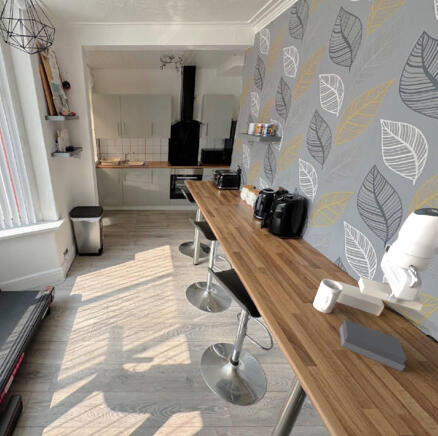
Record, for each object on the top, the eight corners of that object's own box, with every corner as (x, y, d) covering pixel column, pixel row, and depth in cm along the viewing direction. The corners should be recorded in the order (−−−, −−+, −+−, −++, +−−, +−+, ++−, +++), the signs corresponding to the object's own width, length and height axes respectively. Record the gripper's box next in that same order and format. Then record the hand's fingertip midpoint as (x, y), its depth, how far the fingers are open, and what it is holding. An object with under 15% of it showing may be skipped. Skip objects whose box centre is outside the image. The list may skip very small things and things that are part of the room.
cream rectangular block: (412, 298, 77) (416, 292, 76) (419, 310, 72) (423, 304, 71) (358, 282, 84) (360, 277, 83) (361, 292, 79) (364, 287, 78)
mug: (312, 299, 101) (321, 276, 96) (331, 305, 98) (341, 282, 93) (312, 314, 93) (322, 290, 88) (333, 322, 90) (344, 297, 85)
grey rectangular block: (393, 350, 80) (400, 339, 78) (401, 371, 73) (409, 361, 71) (339, 328, 87) (344, 318, 85) (341, 346, 80) (347, 336, 78)
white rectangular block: (374, 302, 100) (379, 293, 98) (378, 316, 93) (384, 306, 91) (331, 288, 108) (335, 280, 106) (332, 300, 101) (337, 291, 99)
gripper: (436, 280, 62) (411, 319, 68) (410, 247, 78) (391, 281, 84) (404, 272, 65) (382, 309, 71) (385, 242, 81) (369, 275, 87)
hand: (387, 294), depth 77 cm, fingers closed on cream rectangular block, 6 cm apart
